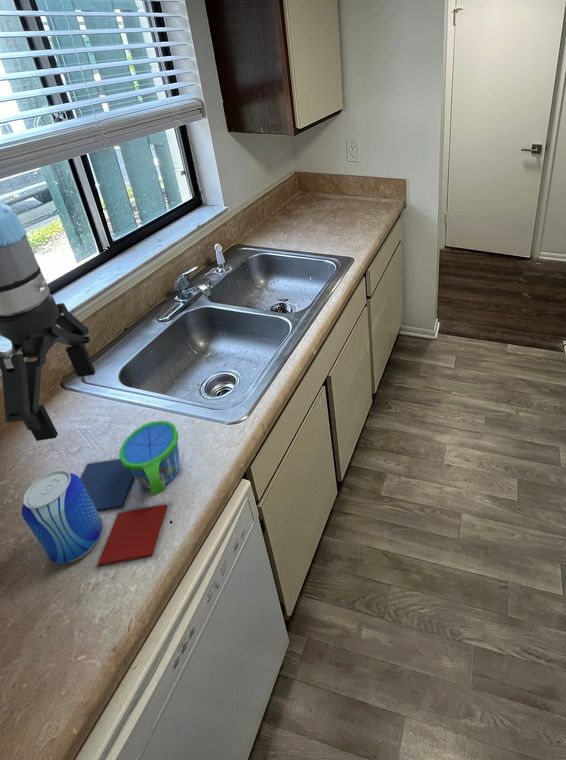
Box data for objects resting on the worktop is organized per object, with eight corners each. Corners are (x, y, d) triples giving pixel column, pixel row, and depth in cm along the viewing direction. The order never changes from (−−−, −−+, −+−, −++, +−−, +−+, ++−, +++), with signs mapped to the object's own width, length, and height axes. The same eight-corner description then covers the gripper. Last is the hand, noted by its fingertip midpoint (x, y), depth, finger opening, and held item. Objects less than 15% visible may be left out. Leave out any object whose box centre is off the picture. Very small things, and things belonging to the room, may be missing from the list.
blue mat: (62, 517, 86) (61, 515, 86) (88, 465, 96) (87, 463, 95) (122, 506, 88) (121, 505, 87) (142, 457, 97) (141, 455, 97)
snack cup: (188, 496, 89) (176, 463, 85) (129, 519, 85) (114, 486, 81) (187, 435, 102) (177, 404, 98) (136, 453, 98) (123, 422, 94)
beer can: (106, 548, 81) (76, 494, 74) (50, 578, 77) (13, 524, 70) (104, 509, 87) (76, 456, 80) (52, 535, 83) (18, 482, 76)
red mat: (98, 565, 78) (97, 564, 78) (119, 514, 86) (118, 512, 86) (152, 555, 80) (151, 553, 79) (167, 506, 88) (166, 504, 87)
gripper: (-4, 357, 56) (54, 466, 65) (86, 259, 78) (120, 350, 87) (-73, 365, 54) (-3, 475, 64) (39, 263, 77) (79, 356, 86)
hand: (68, 403), depth 75 cm, fingers open, 13 cm apart
